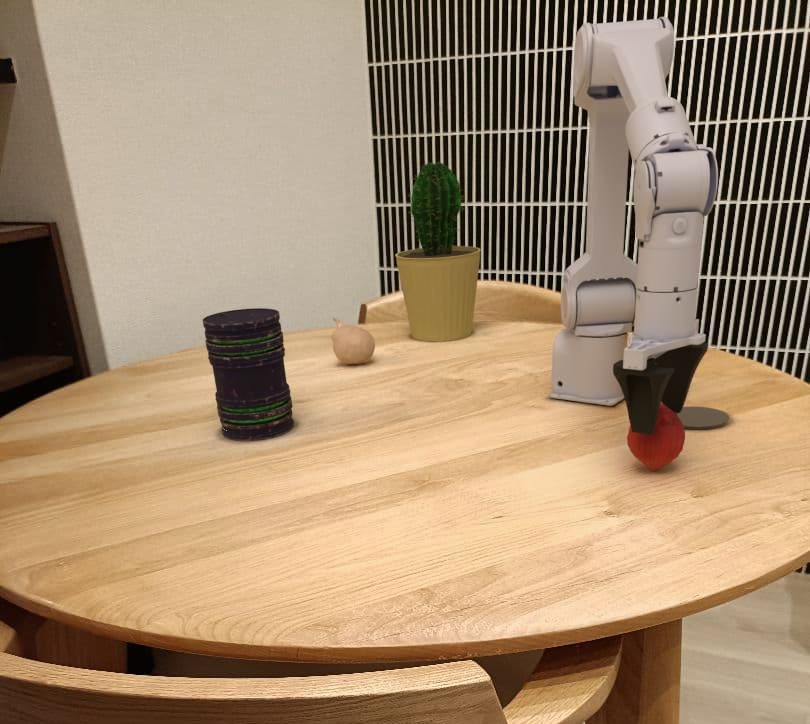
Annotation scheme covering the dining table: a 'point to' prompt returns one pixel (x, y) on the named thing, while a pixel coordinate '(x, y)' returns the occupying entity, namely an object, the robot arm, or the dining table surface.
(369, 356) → the garlic bulb
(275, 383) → the dark purple cylinder
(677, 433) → the onion
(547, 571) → the dining table surface
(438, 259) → the potted cactus
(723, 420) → the coaster
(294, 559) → the dining table surface
